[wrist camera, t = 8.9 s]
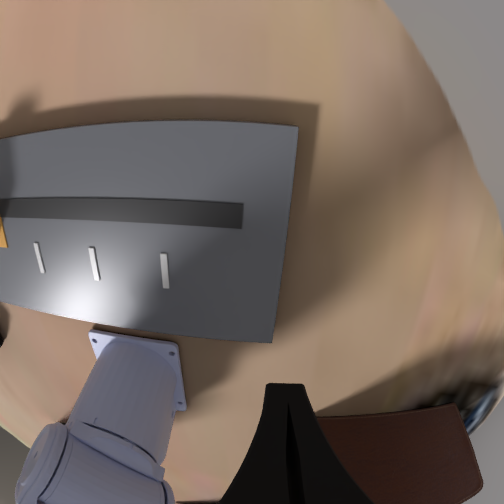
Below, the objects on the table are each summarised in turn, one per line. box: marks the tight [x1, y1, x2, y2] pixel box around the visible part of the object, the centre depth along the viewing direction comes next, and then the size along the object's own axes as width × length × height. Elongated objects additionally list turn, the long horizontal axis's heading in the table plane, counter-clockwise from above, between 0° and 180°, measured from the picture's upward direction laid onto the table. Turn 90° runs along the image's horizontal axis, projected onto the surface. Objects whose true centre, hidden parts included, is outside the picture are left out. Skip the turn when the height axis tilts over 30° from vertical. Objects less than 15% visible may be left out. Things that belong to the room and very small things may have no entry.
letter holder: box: [316, 402, 483, 504], centre depth 24 cm, size 10×20×14 cm, turn 85°
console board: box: [0, 120, 299, 343], centre depth 18 cm, size 14×30×2 cm, turn 86°
